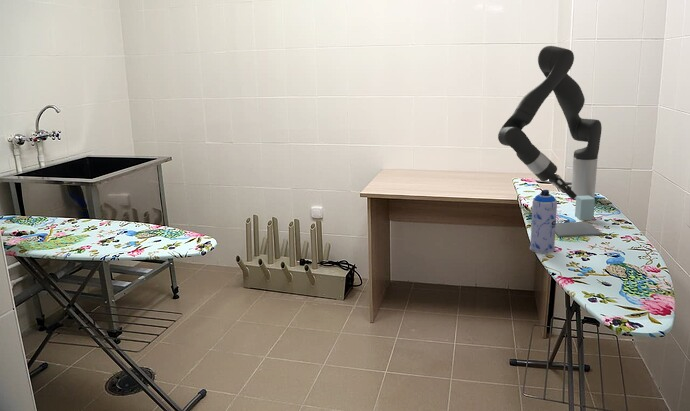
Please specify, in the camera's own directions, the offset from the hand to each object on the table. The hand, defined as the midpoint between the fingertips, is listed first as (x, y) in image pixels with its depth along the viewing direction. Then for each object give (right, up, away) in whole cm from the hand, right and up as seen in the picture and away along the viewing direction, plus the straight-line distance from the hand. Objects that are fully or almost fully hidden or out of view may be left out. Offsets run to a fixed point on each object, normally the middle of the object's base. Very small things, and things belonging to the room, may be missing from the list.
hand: (570, 194), depth 213 cm
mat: (-3, -13, -10) cm, 16 cm away
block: (+6, -9, +3) cm, 11 cm away
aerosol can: (-20, -19, -26) cm, 37 cm away
